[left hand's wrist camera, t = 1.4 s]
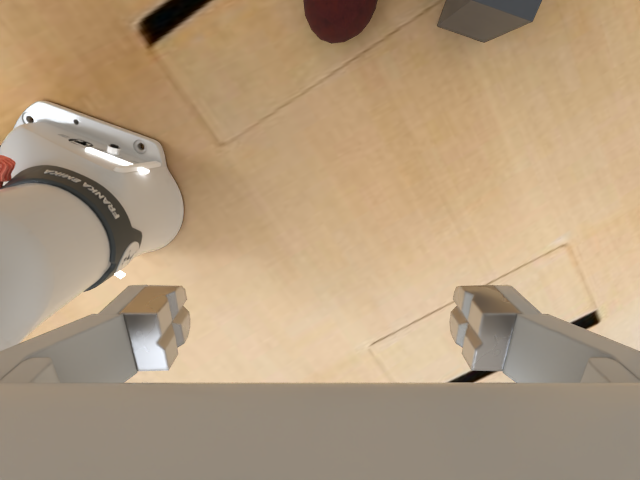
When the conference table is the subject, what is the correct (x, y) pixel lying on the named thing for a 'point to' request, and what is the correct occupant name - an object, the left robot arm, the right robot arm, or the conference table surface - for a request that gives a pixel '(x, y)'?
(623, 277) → the conference table surface
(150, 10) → the conference table surface
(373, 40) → the conference table surface
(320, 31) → the potato
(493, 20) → the box
